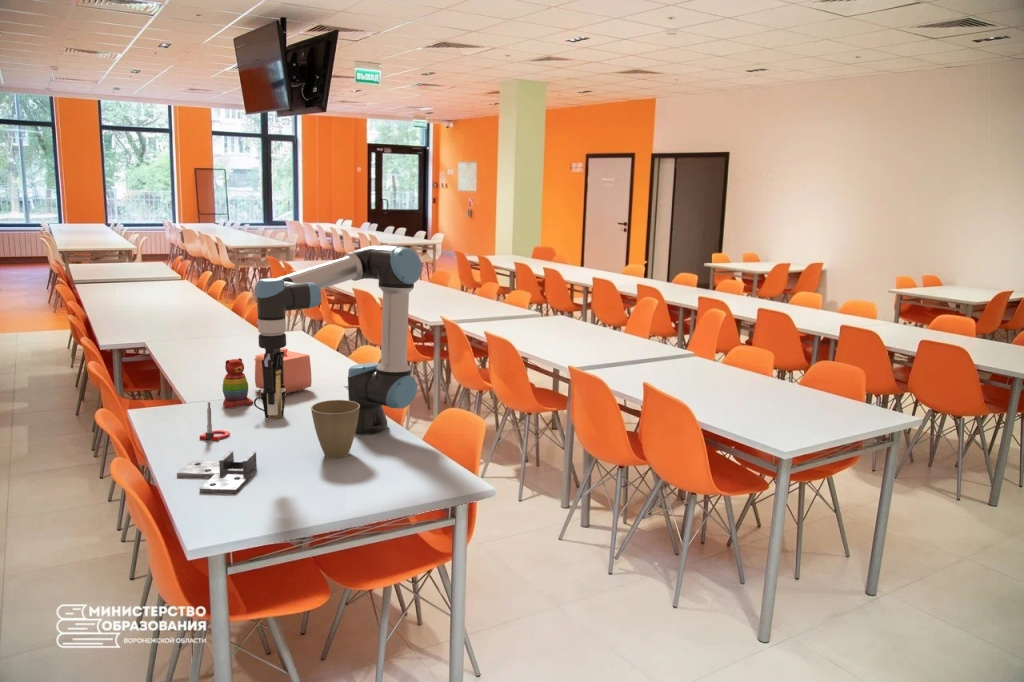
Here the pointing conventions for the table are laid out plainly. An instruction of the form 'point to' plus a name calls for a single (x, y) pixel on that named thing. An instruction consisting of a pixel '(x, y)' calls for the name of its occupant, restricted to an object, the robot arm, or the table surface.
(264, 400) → the coffee mug
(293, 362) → the teapot
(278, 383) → the brass hinge pin
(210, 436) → the tow hook
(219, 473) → the hinge leaves
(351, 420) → the plant pot
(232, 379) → the stacking bear
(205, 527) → the table surface
